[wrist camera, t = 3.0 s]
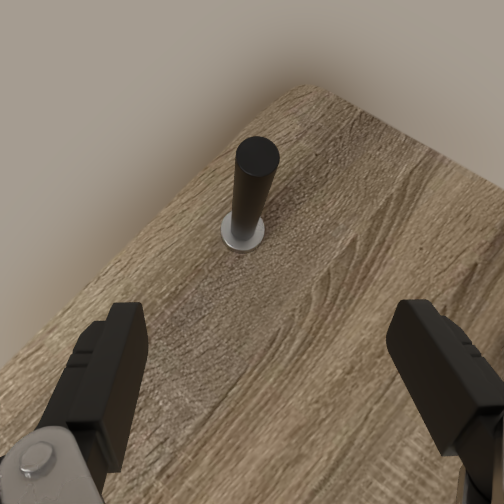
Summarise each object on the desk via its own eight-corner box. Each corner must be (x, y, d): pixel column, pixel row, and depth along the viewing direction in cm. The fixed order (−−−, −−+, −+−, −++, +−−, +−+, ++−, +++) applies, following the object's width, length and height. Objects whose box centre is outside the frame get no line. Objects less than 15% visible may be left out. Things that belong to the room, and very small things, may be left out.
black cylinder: (213, 240, 28) (203, 168, 15) (234, 206, 29) (242, 106, 16) (250, 261, 28) (274, 207, 15) (270, 226, 29) (310, 143, 15)
